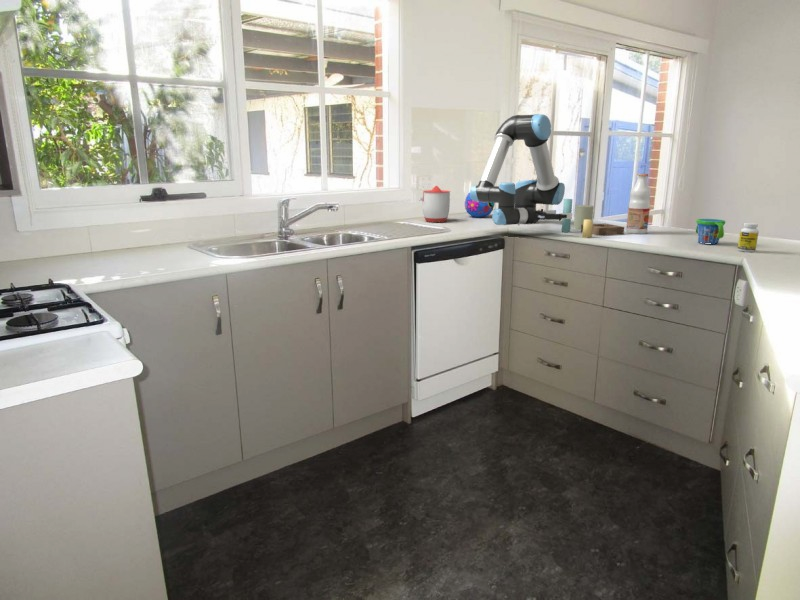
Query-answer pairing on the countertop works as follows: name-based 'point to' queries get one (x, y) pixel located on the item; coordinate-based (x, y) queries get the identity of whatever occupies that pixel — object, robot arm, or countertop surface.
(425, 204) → the citrus juicer
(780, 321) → the countertop surface
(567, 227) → the tall dowel
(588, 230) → the short dowel
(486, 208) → the ceramic pot
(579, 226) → the can
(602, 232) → the walnut block
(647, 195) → the fruit juice
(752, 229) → the pill bottle
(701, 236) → the snack cup
